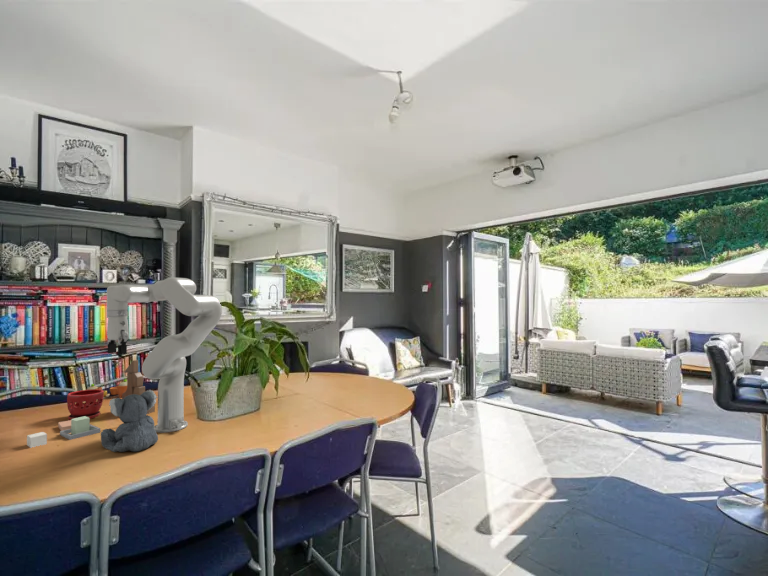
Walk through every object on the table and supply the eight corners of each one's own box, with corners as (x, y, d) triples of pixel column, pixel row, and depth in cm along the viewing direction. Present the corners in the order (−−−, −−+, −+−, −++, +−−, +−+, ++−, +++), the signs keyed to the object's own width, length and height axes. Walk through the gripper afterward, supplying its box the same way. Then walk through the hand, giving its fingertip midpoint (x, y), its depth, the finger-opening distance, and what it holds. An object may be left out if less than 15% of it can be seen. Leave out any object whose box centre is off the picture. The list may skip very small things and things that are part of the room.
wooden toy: (155, 411, 183) (156, 359, 183) (142, 415, 176) (143, 361, 177) (132, 408, 188) (132, 357, 188) (119, 412, 182) (119, 360, 182)
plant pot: (83, 423, 166) (83, 396, 166) (59, 422, 168) (59, 394, 169) (110, 414, 179) (110, 388, 179) (87, 413, 181) (87, 387, 182)
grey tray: (100, 433, 154) (100, 428, 154) (69, 441, 145) (69, 436, 145) (90, 428, 159) (90, 424, 159) (59, 436, 151) (59, 431, 151)
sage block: (89, 432, 153) (89, 417, 153) (75, 436, 149) (75, 421, 149) (84, 430, 155) (84, 416, 155) (71, 434, 151) (71, 419, 152)
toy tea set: (143, 391, 225) (143, 374, 225) (135, 397, 210) (135, 380, 210) (91, 395, 217) (91, 377, 218) (78, 402, 203) (78, 383, 203)
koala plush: (150, 434, 153) (151, 384, 153) (169, 444, 141) (169, 391, 142) (98, 447, 139) (98, 393, 140) (114, 460, 128) (114, 401, 128)
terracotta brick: (76, 431, 157) (76, 424, 157) (61, 434, 153) (62, 427, 154) (72, 426, 163) (72, 419, 163) (58, 429, 160) (58, 422, 160)
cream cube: (46, 446, 141) (46, 434, 141) (30, 450, 137) (30, 437, 137) (42, 443, 143) (43, 431, 143) (26, 447, 140) (27, 435, 140)
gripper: (136, 314, 165) (136, 353, 165) (117, 313, 174) (117, 351, 174) (116, 314, 159) (116, 356, 158) (98, 314, 168) (98, 353, 168)
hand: (117, 353), depth 166 cm, fingers open, 9 cm apart
